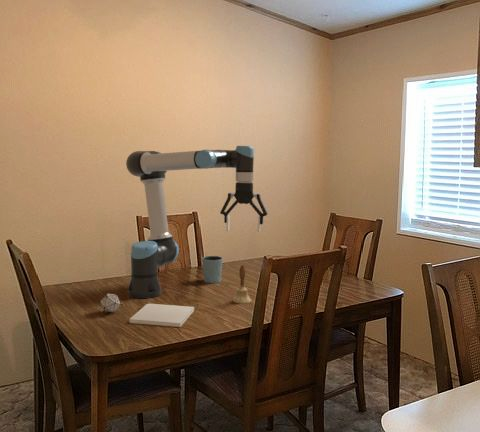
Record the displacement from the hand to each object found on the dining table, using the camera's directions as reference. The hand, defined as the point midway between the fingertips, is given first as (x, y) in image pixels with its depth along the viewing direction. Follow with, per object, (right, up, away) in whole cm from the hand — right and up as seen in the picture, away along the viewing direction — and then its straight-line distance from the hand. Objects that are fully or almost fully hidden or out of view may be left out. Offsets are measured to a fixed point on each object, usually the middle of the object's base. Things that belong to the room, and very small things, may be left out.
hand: (243, 231), depth 220 cm
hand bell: (-1, -31, +4) cm, 31 cm away
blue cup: (-15, -26, +35) cm, 47 cm away
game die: (-54, -32, -16) cm, 64 cm away
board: (-32, -33, -19) cm, 50 cm away
